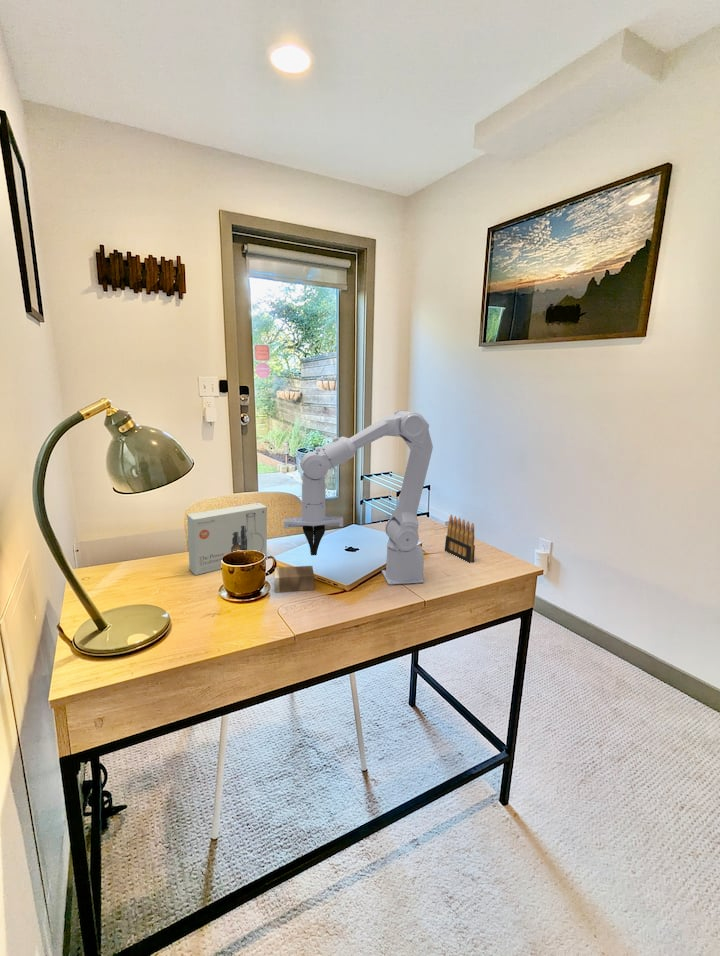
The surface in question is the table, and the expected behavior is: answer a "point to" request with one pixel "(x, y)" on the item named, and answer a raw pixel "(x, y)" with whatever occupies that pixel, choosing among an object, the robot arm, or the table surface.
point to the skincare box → (225, 534)
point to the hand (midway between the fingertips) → (313, 553)
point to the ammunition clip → (460, 539)
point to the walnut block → (294, 579)
